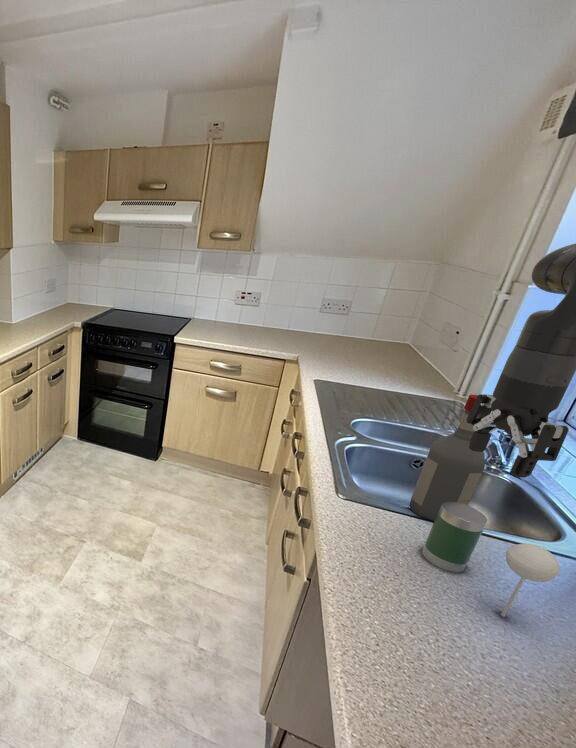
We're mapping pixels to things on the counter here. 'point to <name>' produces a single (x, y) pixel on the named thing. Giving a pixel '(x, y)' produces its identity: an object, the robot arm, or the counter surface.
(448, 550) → the can
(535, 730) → the counter surface
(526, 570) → the lollipop
